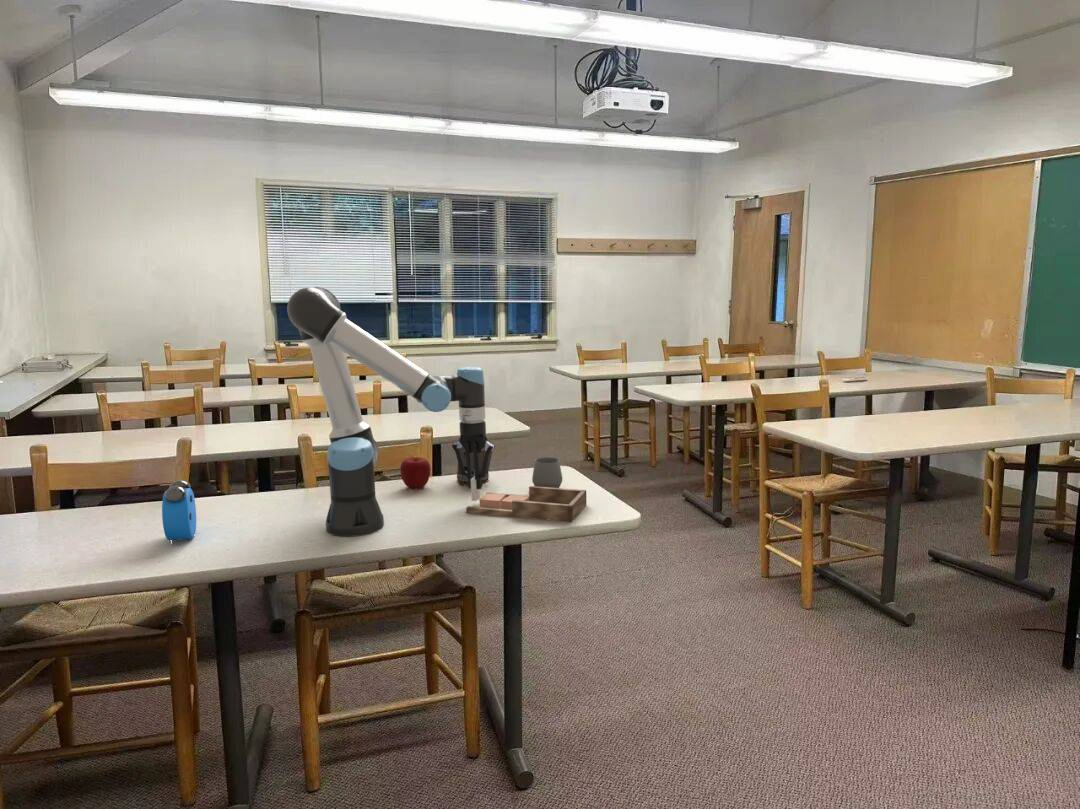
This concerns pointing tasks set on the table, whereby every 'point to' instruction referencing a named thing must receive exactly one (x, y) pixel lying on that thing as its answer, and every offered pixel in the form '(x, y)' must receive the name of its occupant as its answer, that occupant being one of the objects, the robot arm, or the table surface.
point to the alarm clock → (179, 511)
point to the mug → (464, 479)
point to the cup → (547, 472)
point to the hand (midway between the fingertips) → (475, 499)
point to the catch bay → (542, 504)
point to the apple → (415, 472)
